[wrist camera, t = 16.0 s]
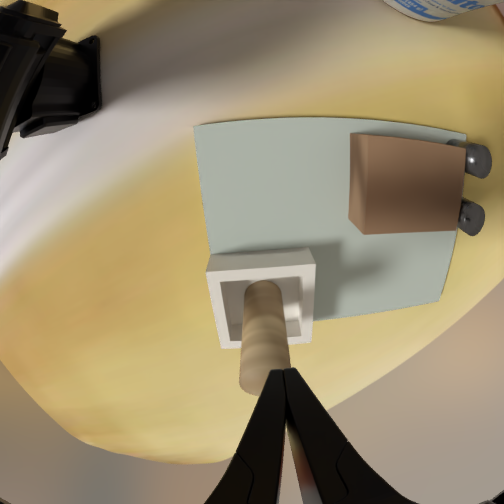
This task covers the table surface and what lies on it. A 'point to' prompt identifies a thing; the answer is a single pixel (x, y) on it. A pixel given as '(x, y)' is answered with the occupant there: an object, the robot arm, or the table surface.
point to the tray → (262, 269)
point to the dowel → (262, 336)
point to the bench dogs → (480, 167)
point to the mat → (316, 210)
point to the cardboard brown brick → (404, 184)
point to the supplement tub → (437, 7)
